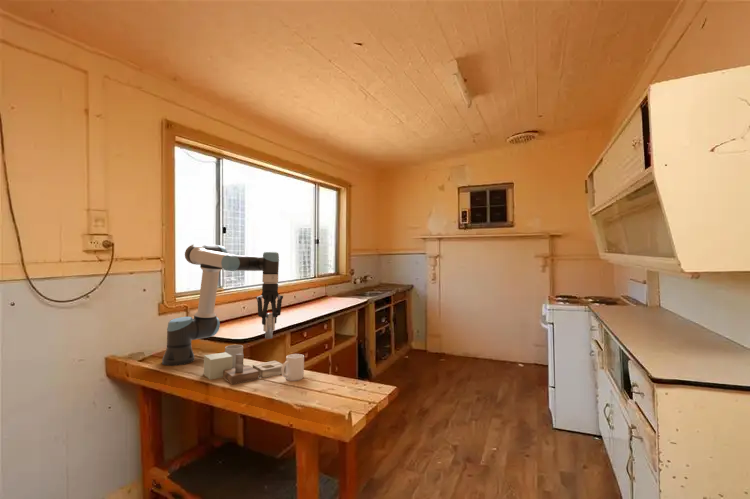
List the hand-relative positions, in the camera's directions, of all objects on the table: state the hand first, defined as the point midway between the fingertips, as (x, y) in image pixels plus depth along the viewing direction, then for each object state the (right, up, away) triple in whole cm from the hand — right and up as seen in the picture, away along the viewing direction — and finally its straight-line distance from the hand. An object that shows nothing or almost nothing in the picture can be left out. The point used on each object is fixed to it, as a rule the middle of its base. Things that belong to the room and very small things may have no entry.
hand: (269, 330), depth 169 cm
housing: (-23, -20, -4) cm, 31 cm away
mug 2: (+13, -21, -9) cm, 26 cm away
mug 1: (-22, -21, +12) cm, 33 cm away
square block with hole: (0, -21, +1) cm, 21 cm away
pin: (0, -3, 0) cm, 4 cm away
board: (-11, -20, -9) cm, 24 cm away
